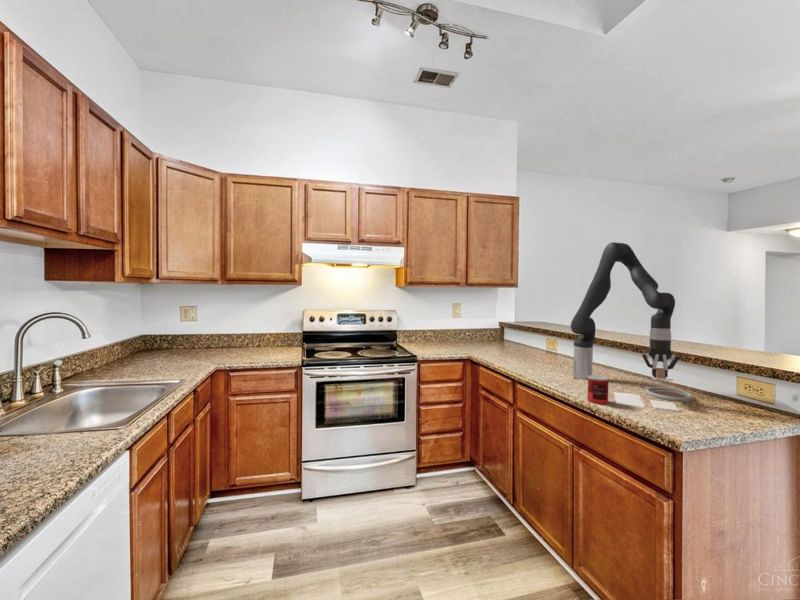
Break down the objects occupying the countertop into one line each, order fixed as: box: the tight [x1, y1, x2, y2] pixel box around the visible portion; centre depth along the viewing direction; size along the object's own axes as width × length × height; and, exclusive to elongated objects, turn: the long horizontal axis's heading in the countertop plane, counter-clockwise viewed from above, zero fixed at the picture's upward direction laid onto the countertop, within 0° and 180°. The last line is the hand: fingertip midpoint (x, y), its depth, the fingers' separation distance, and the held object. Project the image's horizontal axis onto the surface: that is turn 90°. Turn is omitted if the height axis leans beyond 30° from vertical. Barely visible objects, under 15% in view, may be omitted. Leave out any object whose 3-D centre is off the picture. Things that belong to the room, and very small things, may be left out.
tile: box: [649, 399, 681, 413], centre depth 148 cm, size 8×2×11 cm
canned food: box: [587, 374, 609, 405], centre depth 155 cm, size 8×8×11 cm
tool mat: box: [613, 391, 646, 408], centre depth 158 cm, size 10×19×1 cm, turn 153°
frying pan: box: [637, 382, 694, 403], centre depth 168 cm, size 17×3×28 cm
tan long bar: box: [651, 367, 674, 382], centre depth 157 cm, size 15×6×5 cm, turn 153°
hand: (659, 377), depth 159 cm, fingers closed on tan long bar, 2 cm apart
